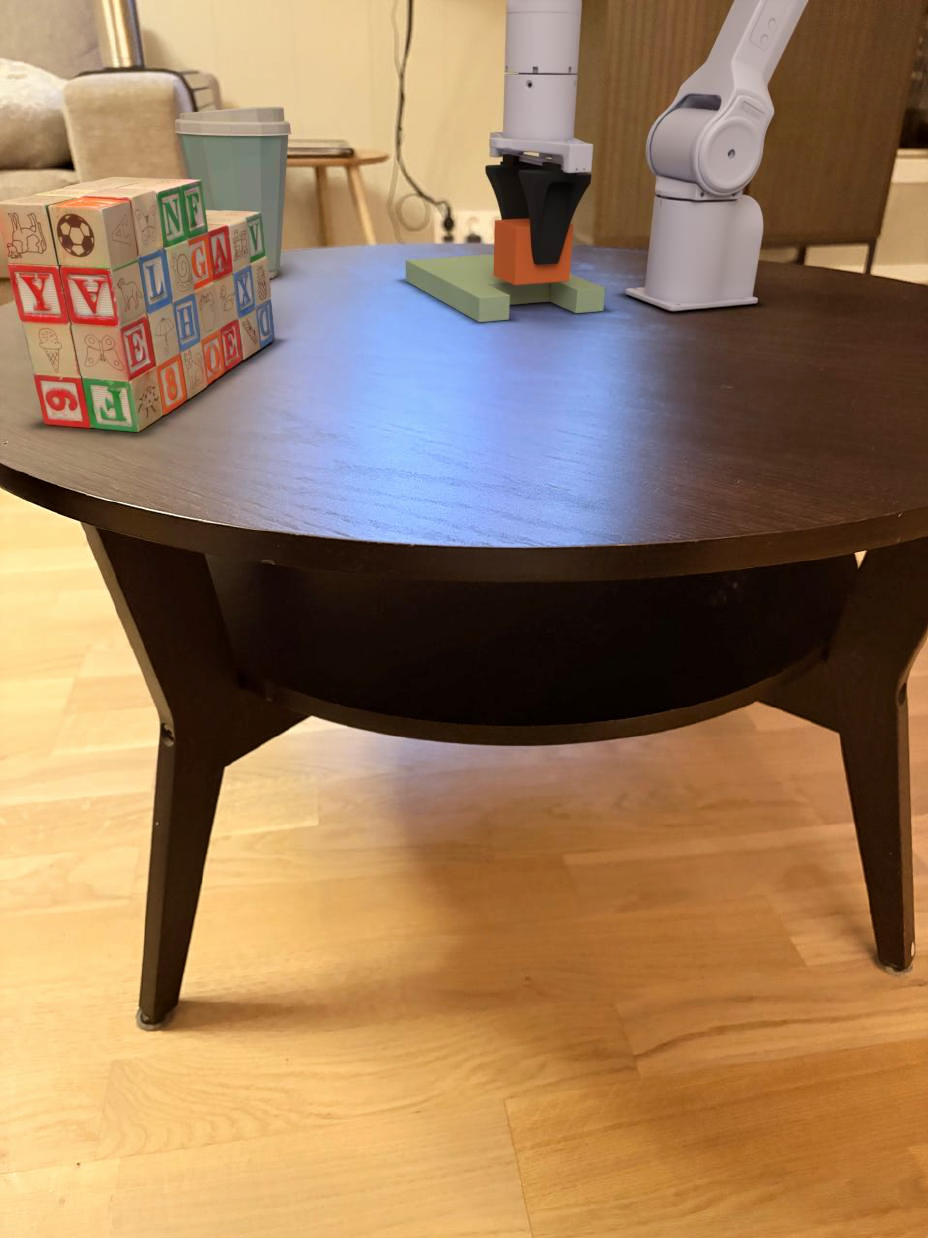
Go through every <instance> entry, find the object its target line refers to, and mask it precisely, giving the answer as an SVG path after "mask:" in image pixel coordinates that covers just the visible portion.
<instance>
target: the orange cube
mask: <svg viewBox="0 0 928 1238" xmlns="http://www.w3.org/2000/svg"><path fill="white" fill-rule="evenodd" d="M493 232H494V234H493V236H494V237H493V254H494V270H493V275H494V276H496V277H498V278H500V279H502V280H505V281H507V282H509V283H511V284H513V285H525V284H537V283H550V282H563V281H569V280H570V274H571V265H572V263H571V262H572V249H573V247H572V246H573V235H574V234H573V233H574V224H572V223H570V226H569V229H568V233H567V236H566V239H565V243H564V247H563V250H562V253H561V257H560V260H559V263H558V264H544V265H536V264H534V262H533V258H532V251H531V235H530V218H527V219H508V220H502V219H495V220H494V231H493Z"/></svg>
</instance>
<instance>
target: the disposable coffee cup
mask: <svg viewBox="0 0 928 1238" xmlns="http://www.w3.org/2000/svg"><path fill="white" fill-rule="evenodd" d="M291 129H292V128H291V123H290V122H289V121H288V120H285V108H284V107H283V106H248V107H241V108H240V107H239V108H227V109H216V110H206V111H193V112H182V113H181V112H180V113H179V118H176V119H175V121H174V133H175V134H176V136H177V140H178V143H179V148H180V152H181V154H182V155H181V156H182V160H183V164H184V168H185V172H186V177H187V179H193V180H201V181H202V189H203V197H204V204H205V210H215V211H222V210H229V211H249V212H261V215H262V223H263V234H264V243H265V256H266V257H267V260H268V269H269V278H270V279H274V278H275V277H277V276H278V274H279V273H278V272H279V268H281V259H282V258H281V256H282V243H283V242H282V240H283V229H284V228H283V227H284V209H285V194H286V180H287V179H286V178H287V164H288V150H289V149H288V148H289V136H290V135H292V130H291Z"/></svg>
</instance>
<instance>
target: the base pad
mask: <svg viewBox="0 0 928 1238" xmlns="http://www.w3.org/2000/svg"><path fill="white" fill-rule="evenodd" d="M493 270H494V253H492V254H478V255H461V256H448V257H445V256H444V257H430V258H417V259H406V260H405V282H407V283H408V284H411V285H412V286H413V287H416V288H418V289H419V290H421V291H423V292H424V293H427V294H428V295H429V296H432V297H433V298H435V299H437V300H439V301H440V302H442V303H444V304H446V305H448V306H450V307H451V308H453V309H454V310H457V311H458V312H461V313H462V314H464V315H465V316H467V317H469V318H470V319H473V320H474V321H476V322H478V323H487V322H498V321H509V320H510V307H511V306H512V305H513V306H515V305H525V304H536V303H547V302H549V303H552V304H554V305H556V306H559V307H561V308H563V309H565V310H567V311H570V312H572V313H573V314H586V313H597V312H604V308H605V297H606V287H605V286H602V285H599V284H598V283H594V282H592V281H589V280H587V279H585V278H582V277H580V276H577V275H575V274H571V273H570V280H569V281H563V282H550V283H537V284H525V285H513V284H511V283H509V282H507V281H505V280H502V279H500V278H498V277H496V276H494V275H493Z"/></svg>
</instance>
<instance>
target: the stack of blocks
mask: <svg viewBox="0 0 928 1238" xmlns="http://www.w3.org/2000/svg"><path fill="white" fill-rule="evenodd" d="M0 234H1V235H0V236H1V238H2V243H3V247H4V250H5V255H6V259H7V262H8V263H7V272H8V275H9V280H10V284H11V288H12V293H13V298H14V302H15V306H16V310H17V314H18V318H19V320H20V322H21V326H22V331H23V335H24V339H25V342H26V346H27V351H28V356H29V360H30V364H31V368H32V372H33V381H34V384H35V389H36V393H37V396H38V401H39V405H40V410H41V414H42V420H43V422H44V424H45V425H49V426H59V427H60V426H61V427H72V428H83V429H84V428H85V429H90V428H93V429H98V430H99V429H100V430H107V431H108V430H110V431H119V432H132V433H140V432H141V431H143V430H144V429H146V428H147V427H148V426H150V425H151V424H153V423H154V422H156V421H157V420H159V419H160V418H162V416H165V415H168V414H169V413H171V412H172V411H173V410H175V409H177V408H178V407H179V406H181V405H182V404H183V403H185V402H186V401H187V400H189V399H191V398H192V397H194V396H196V395H197V394H199V393H200V392H201V391H203V390H204V389H205V388H207V387H208V385H210V384H211V383H212V382H213V381H215V380H217V379H218V378H220V377H221V376H222V375H224V374H226V372H227V371H229V370H231V369H232V368H233V367H235V366H236V365H238V364H239V363H241V362H242V361H244V360H246V359H247V358H249V357H250V356H252V355H253V354H255V353H256V352H258V351H260V350H261V349H263V348H265V347H266V346H267V345H269V344H270V343H271V342H273V341H274V340H275V339H276V337H275V325H274V314H273V303H272V299H271V298H272V291H271V289H272V288H271V280H270V279H271V278H269V269H268V260H267V257H266V256H265V243H264V234H263V223H262V215H261V212H249V211H229V210H222V211H215V210H205V204H204V197H203V189H202V181H201V180H193V179H188V178H187V179H186V178H157V177H155V178H154V177H131V176H130V177H127V176H111V177H106V178H101V179H96V180H92V181H85V182H79V183H76V184H71V185H66V186H64V187H63V188H58V189H53V190H48V191H44V192H39V193H35V194H31V195H26V196H25V195H24V196H20V197H15V198H14V197H13V198H10V199H5V200H0Z"/></svg>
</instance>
